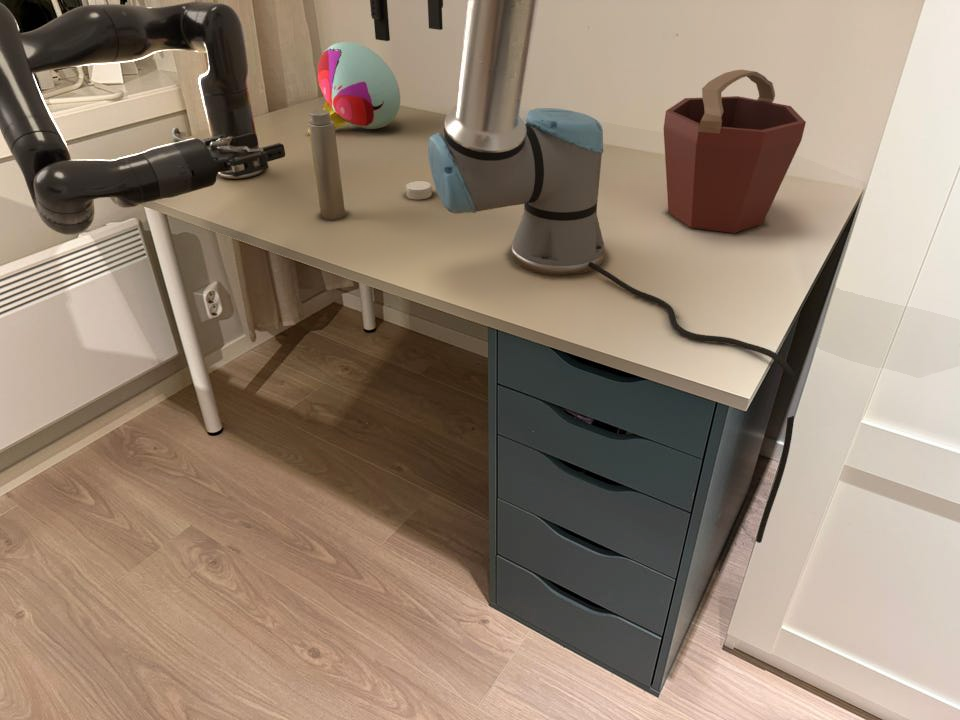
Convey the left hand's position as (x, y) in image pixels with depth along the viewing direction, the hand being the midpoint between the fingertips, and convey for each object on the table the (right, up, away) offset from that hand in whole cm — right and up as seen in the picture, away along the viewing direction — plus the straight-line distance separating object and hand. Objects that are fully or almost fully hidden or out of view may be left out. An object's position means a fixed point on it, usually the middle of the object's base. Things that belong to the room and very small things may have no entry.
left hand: (269, 144), depth 118 cm
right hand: (+23, +21, +7) cm, 32 cm away
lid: (+23, -2, +23) cm, 32 cm away
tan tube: (+7, -9, +15) cm, 19 cm away
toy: (+3, +23, +62) cm, 67 cm away
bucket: (+79, -9, +14) cm, 80 cm away
